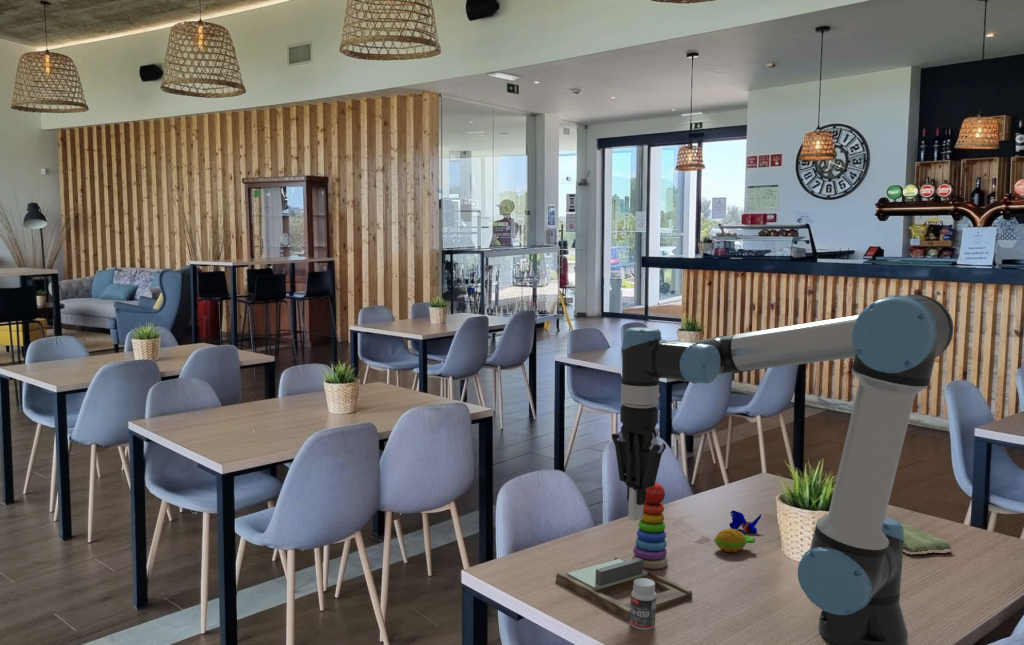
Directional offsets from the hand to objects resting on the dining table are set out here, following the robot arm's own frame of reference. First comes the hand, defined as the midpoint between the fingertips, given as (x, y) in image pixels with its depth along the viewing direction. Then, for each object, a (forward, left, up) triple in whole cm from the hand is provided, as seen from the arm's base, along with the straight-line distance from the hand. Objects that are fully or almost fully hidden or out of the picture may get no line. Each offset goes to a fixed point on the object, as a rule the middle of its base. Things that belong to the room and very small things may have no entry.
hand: (635, 518), depth 166 cm
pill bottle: (-11, +8, -16) cm, 21 cm away
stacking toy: (+10, -15, -16) cm, 25 cm away
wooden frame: (+3, 0, -16) cm, 17 cm away
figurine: (+13, -52, -17) cm, 56 cm away
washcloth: (-14, -79, -17) cm, 82 cm away
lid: (+8, 0, -15) cm, 17 cm away
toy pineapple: (+5, -38, -16) cm, 42 cm away
